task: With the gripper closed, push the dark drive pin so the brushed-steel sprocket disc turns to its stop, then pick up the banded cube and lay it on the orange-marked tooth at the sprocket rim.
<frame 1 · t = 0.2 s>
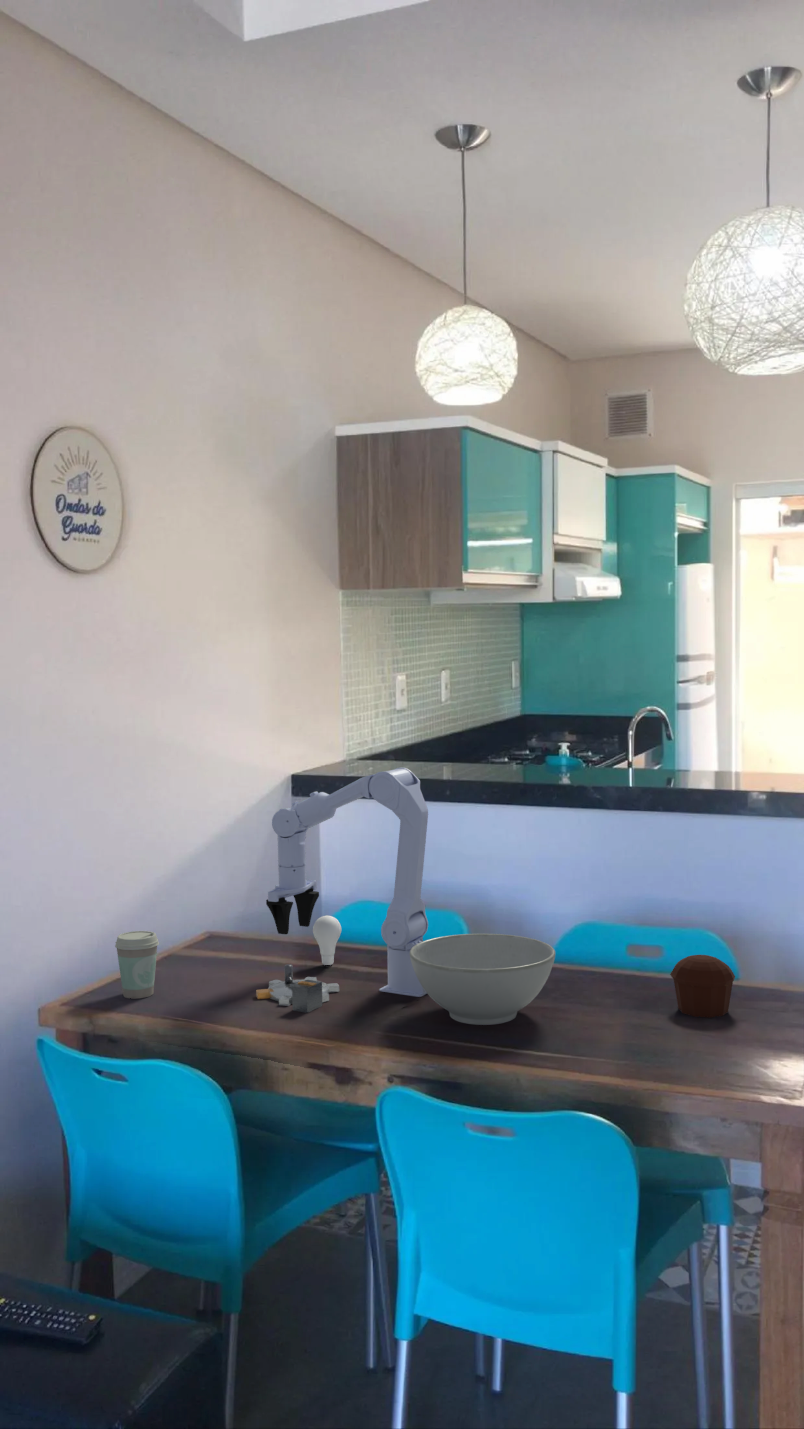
hand: (293, 929, 247), 10 cm above the table, tool pointing down, fingers open, 7 cm apart
decorative bowl: (482, 1016, 220), on the table
sprocket: (298, 982, 234), point 3 cm above the table, hinge at 0.0°
muffin: (702, 1011, 220), on the table
banded cube: (307, 1010, 225), on the table
lightbulb: (327, 967, 256), on the table
coffee cup: (138, 995, 237), on the table
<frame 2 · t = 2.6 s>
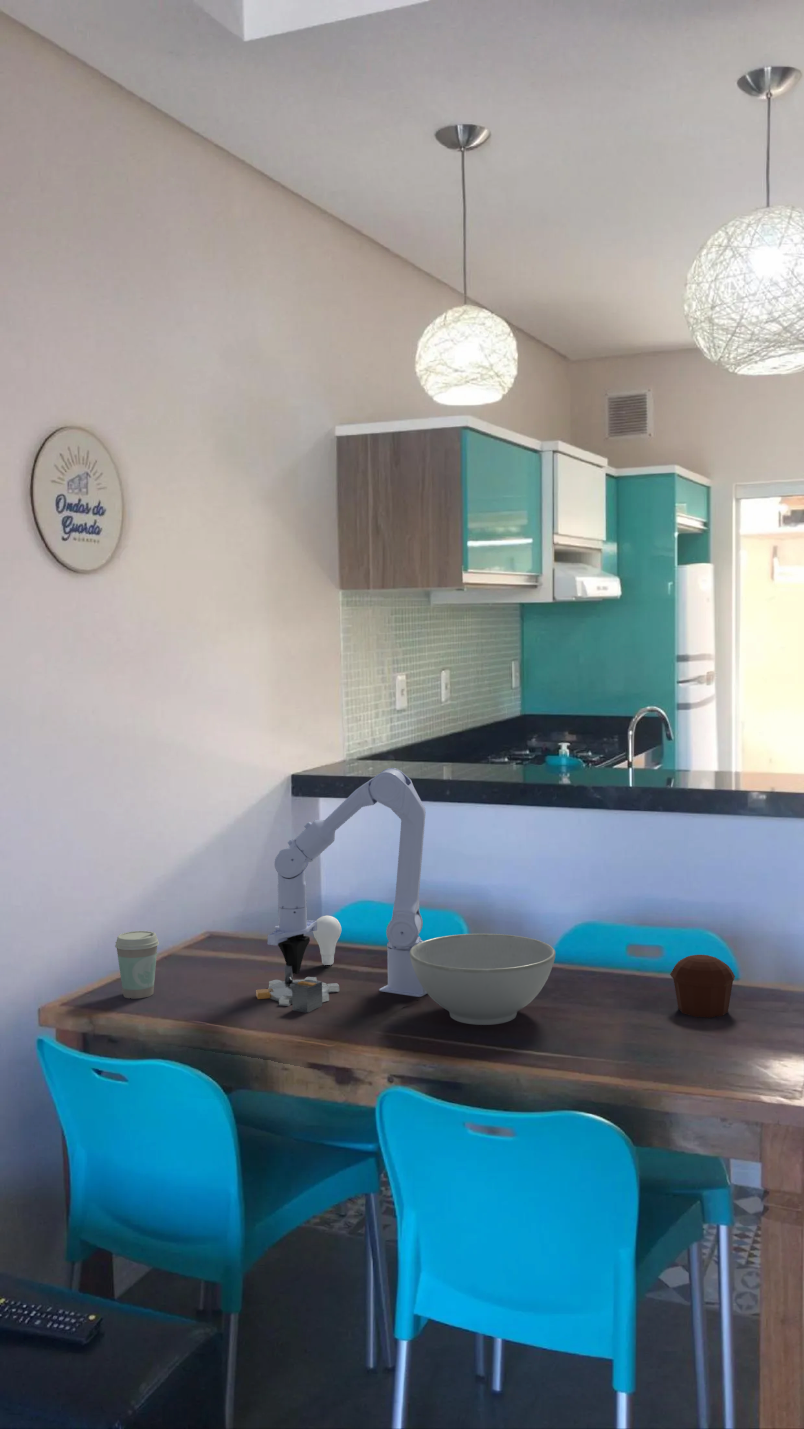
hand: (293, 973, 240), 3 cm above the table, tool pointing down, fingers closed, pressing on sprocket
sprocket: (298, 982, 234), point 3 cm above the table, hinge at 0.0°, touching gripper
everything else where it was.
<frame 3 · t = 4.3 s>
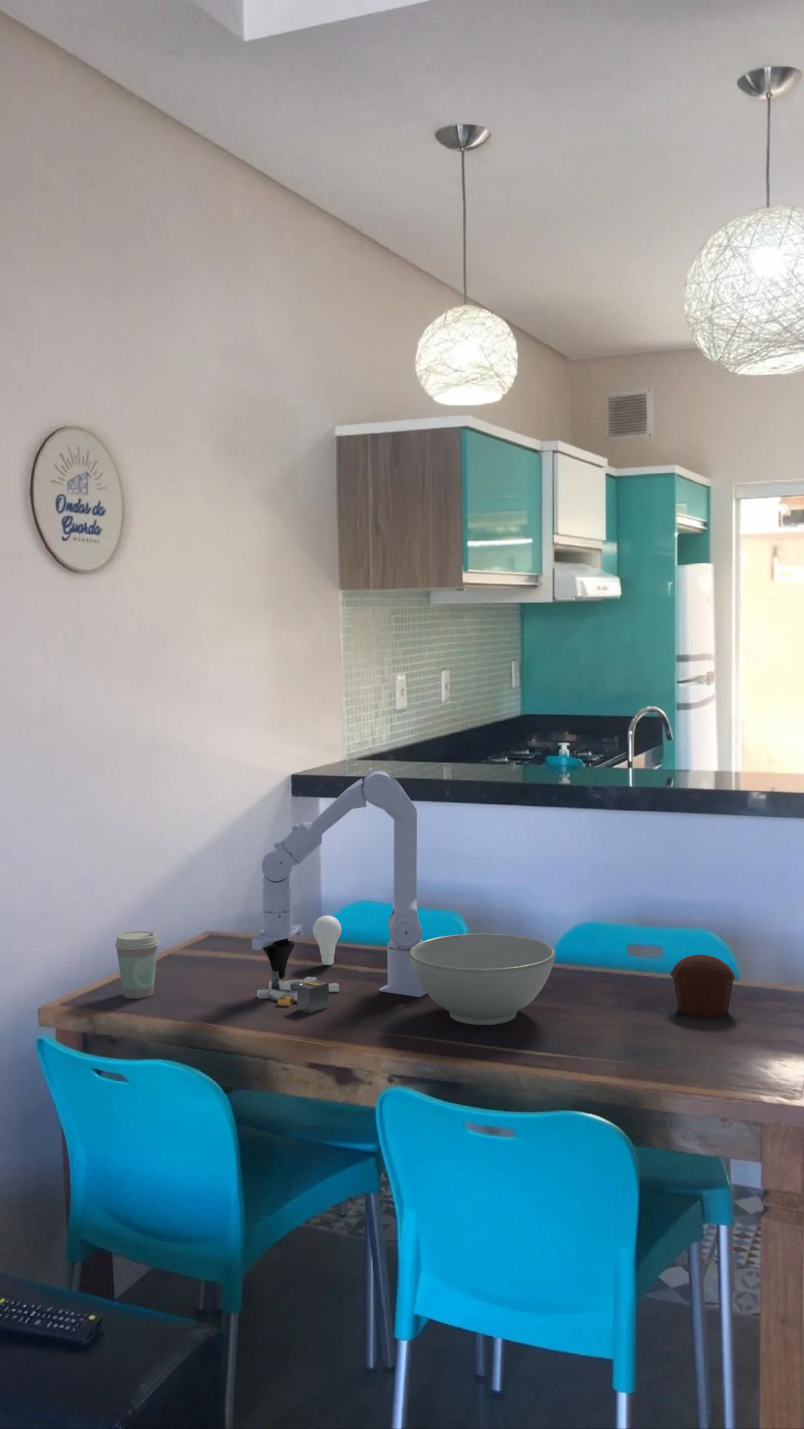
hand: (278, 978, 235), 3 cm above the table, tool pointing down, fingers closed
sprocket: (298, 982, 234), point 3 cm above the table, hinge at 60.2°, touching gripper
banded cube: (313, 1010, 224), on the table
everything else where it was.
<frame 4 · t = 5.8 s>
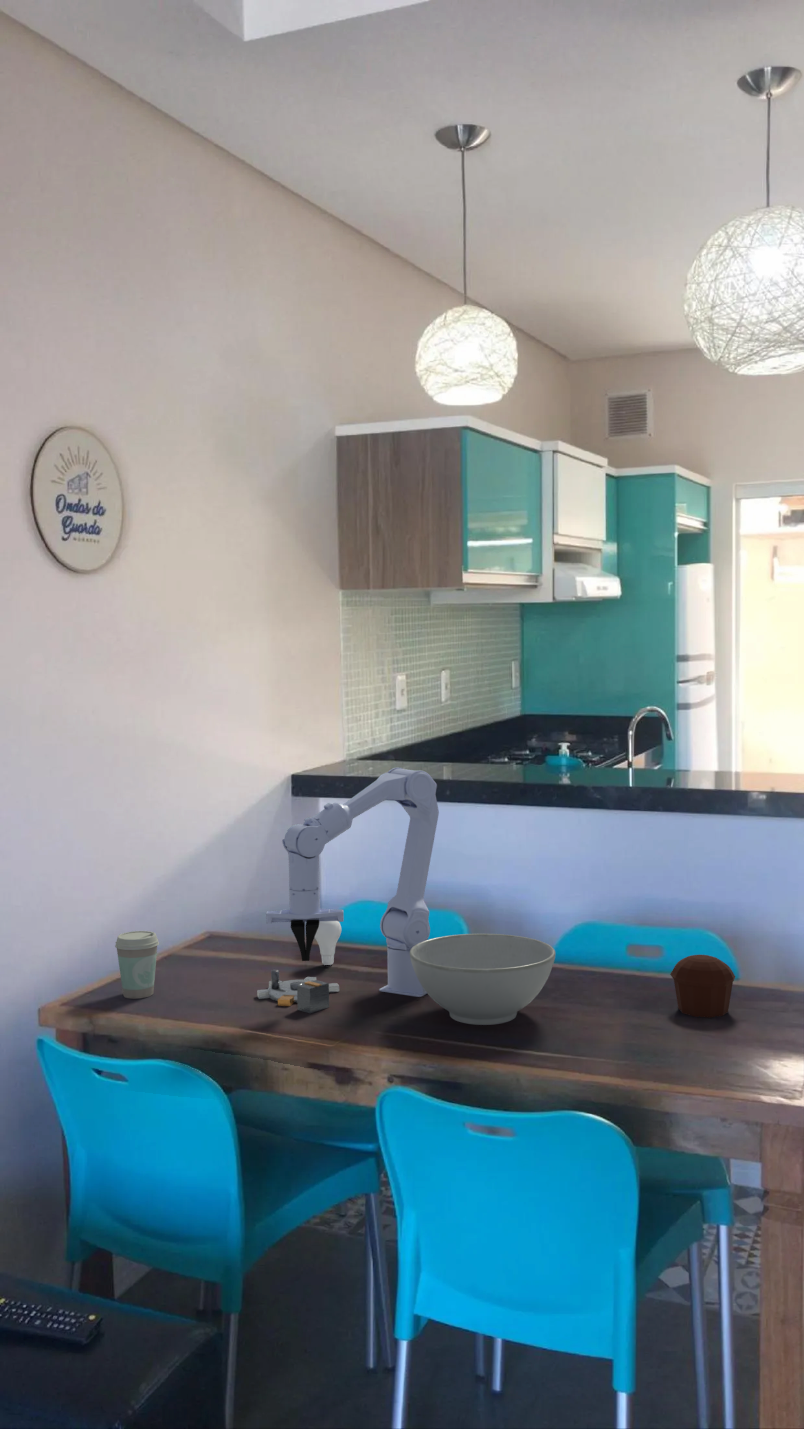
hand: (305, 959, 225), 9 cm above the table, tool pointing down, fingers closed
sprocket: (298, 982, 234), point 3 cm above the table, hinge at 60.2°
everything else where it was.
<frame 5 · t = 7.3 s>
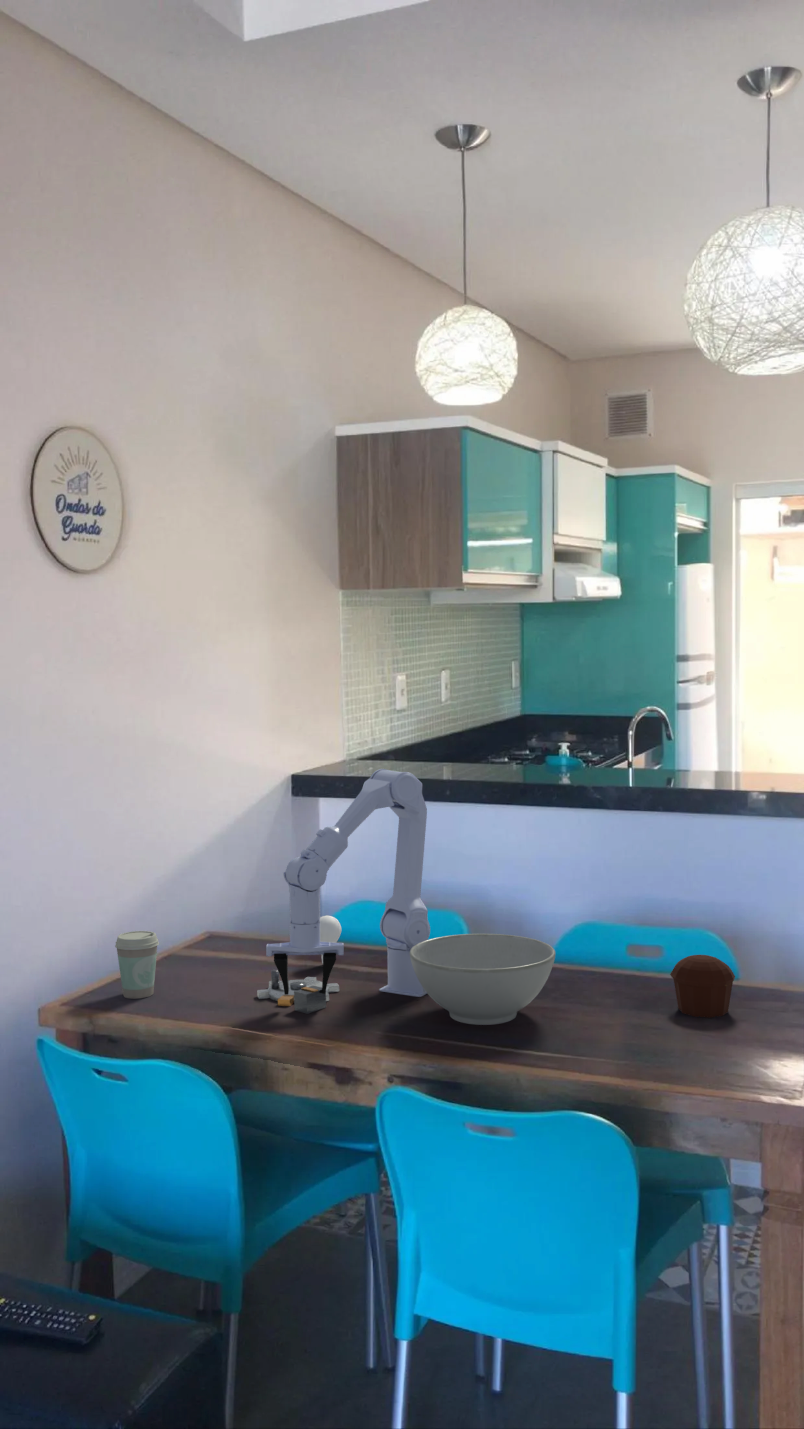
hand: (305, 992, 224), 3 cm above the table, tool pointing down, fingers open, 6 cm apart
banded cube: (310, 1016, 224), on the table, touching gripper
everything else where it was.
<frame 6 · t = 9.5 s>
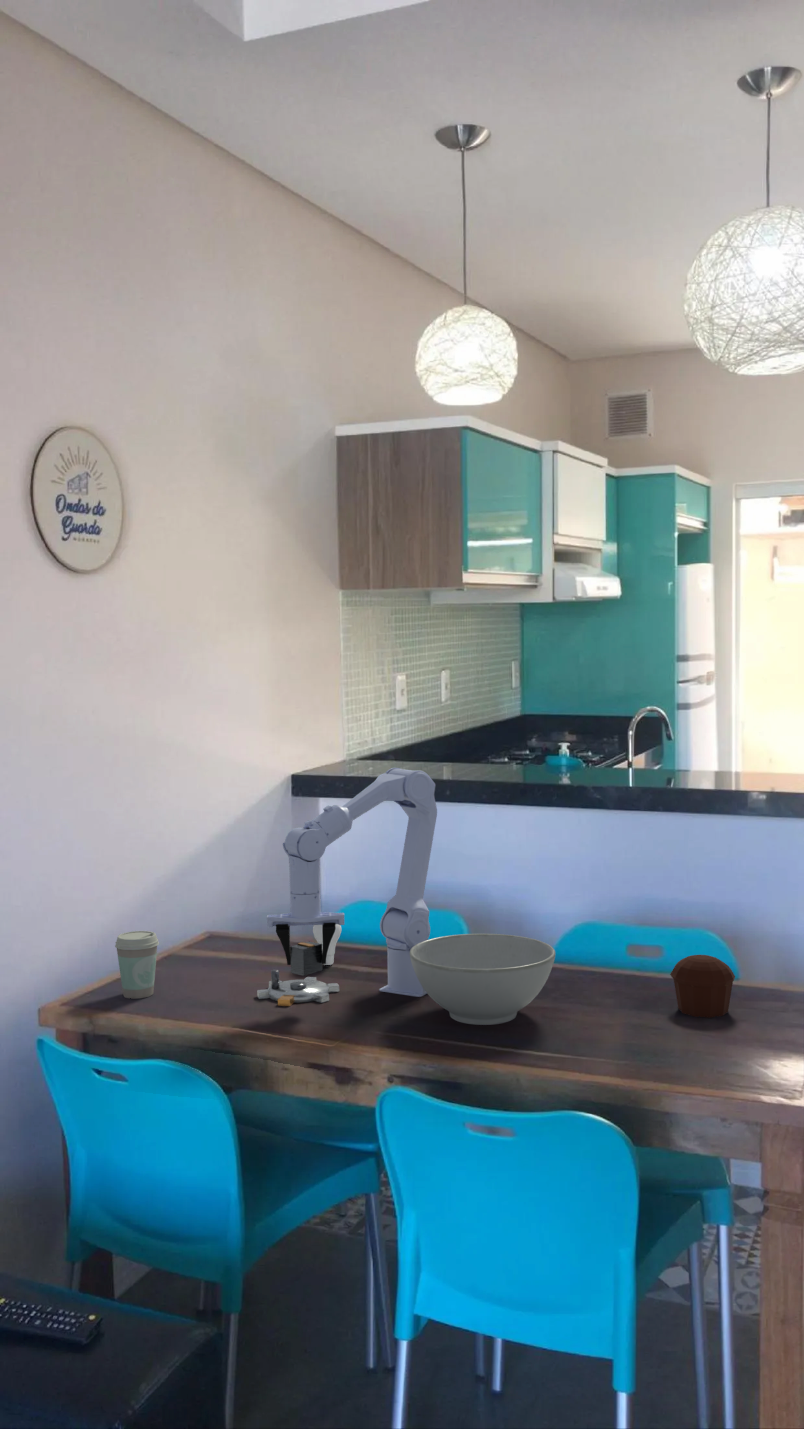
hand: (306, 963, 224), 9 cm above the table, tool pointing down, fingers closed on banded cube, 6 cm apart
banded cube: (306, 971, 224), point 7 cm above the table, touching gripper
everything else where it was.
when the fingers open (4 cm above the table, at t = 11.4 s): banded cube drops 1 cm, resting on sprocket.
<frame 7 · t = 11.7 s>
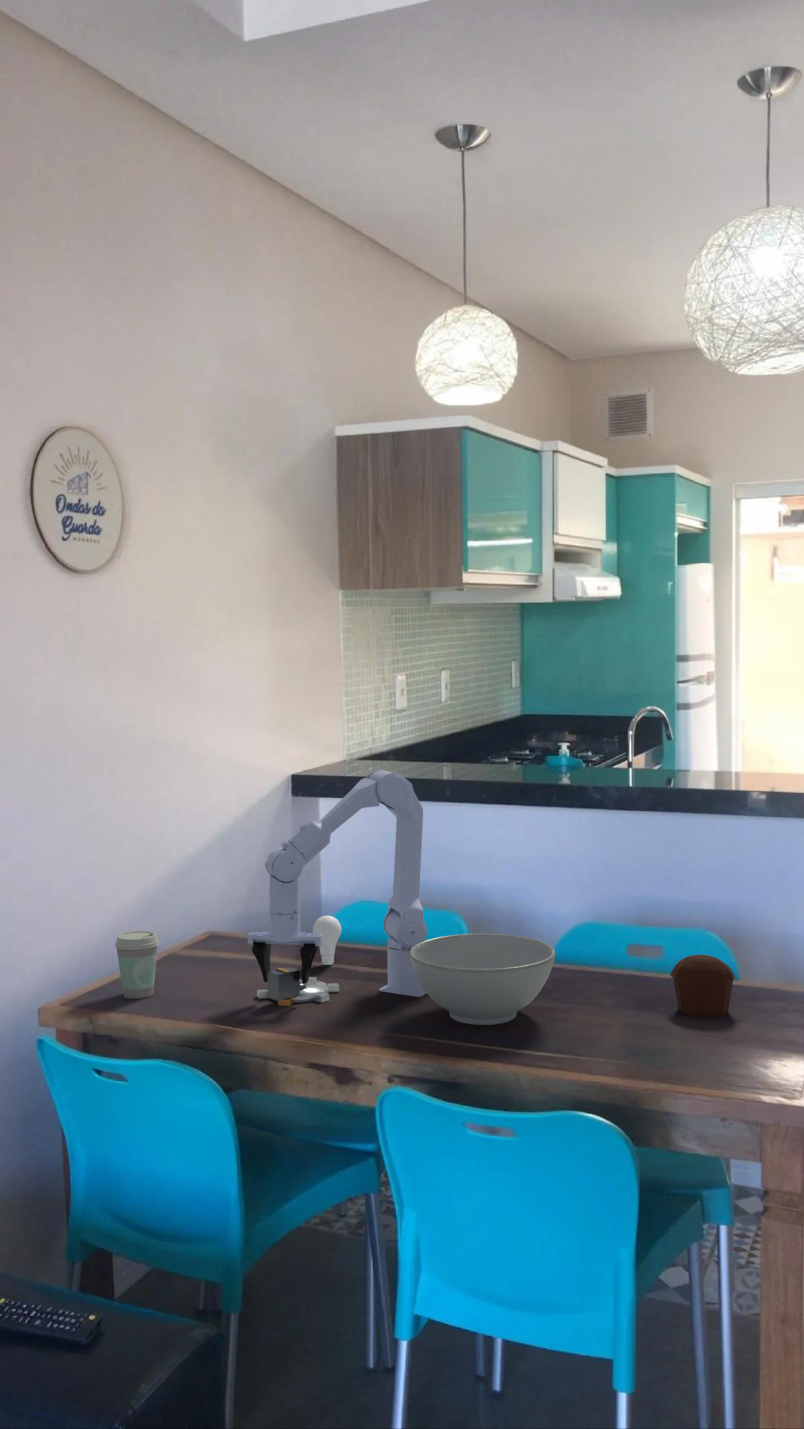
hand: (286, 981, 229), 4 cm above the table, tool pointing down, fingers open, 7 cm apart
sprocket: (298, 982, 234), point 3 cm above the table, hinge at 60.2°, touching banded cube
banded cube: (284, 996, 228), point 1 cm above the table, touching sprocket
everything else where it was.
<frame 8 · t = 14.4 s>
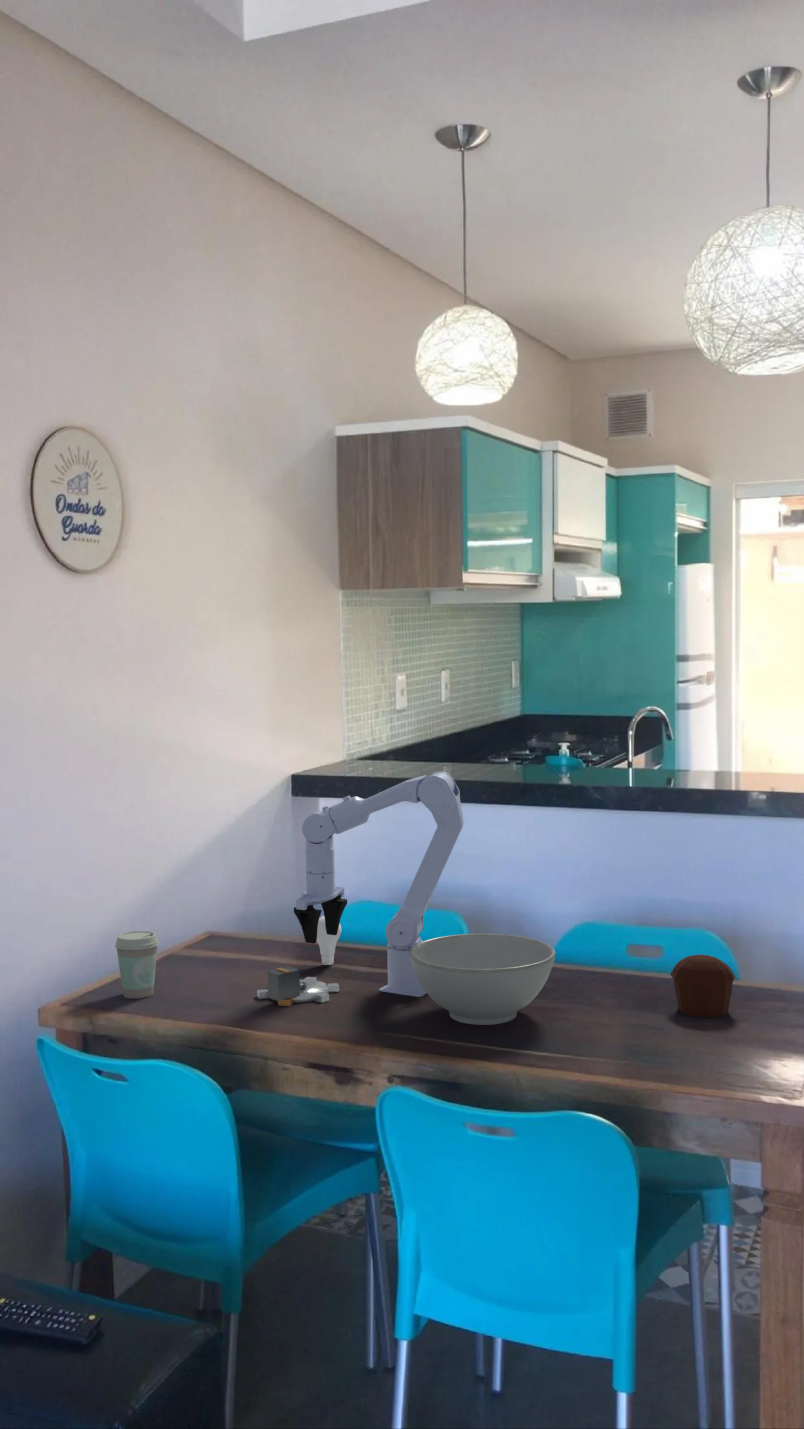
hand: (321, 938, 239), 10 cm above the table, tool pointing down, fingers open, 7 cm apart
nothing on the table moved.
at the end: sprocket at +60° (first picture: +0°); banded cube 0.8 cm from the target spot, point 1.5 cm above the table; the gripper is holding nothing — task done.
